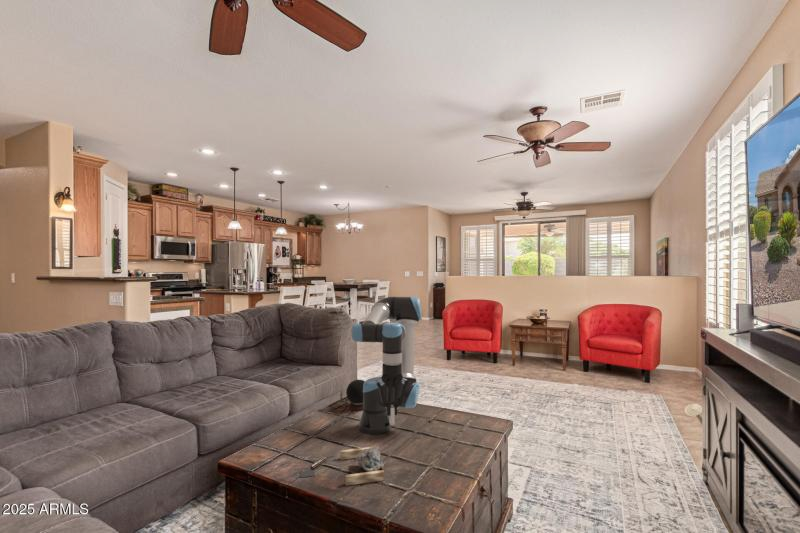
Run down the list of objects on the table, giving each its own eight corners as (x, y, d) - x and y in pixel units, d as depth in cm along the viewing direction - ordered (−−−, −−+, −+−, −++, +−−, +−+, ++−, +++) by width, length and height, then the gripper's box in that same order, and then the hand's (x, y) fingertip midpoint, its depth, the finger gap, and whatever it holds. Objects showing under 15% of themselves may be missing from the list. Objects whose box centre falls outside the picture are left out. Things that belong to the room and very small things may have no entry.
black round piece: (372, 403, 215) (372, 376, 215) (368, 412, 202) (368, 384, 202) (349, 402, 216) (349, 376, 216) (343, 411, 203) (343, 383, 203)
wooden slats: (374, 453, 158) (374, 446, 158) (384, 480, 138) (384, 471, 138) (340, 458, 154) (340, 450, 154) (345, 485, 135) (345, 477, 135)
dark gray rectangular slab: (314, 470, 145) (314, 469, 145) (314, 476, 141) (314, 475, 141) (300, 472, 144) (300, 471, 144) (300, 477, 140) (300, 477, 140)
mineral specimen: (369, 485, 144) (375, 464, 154) (384, 474, 141) (389, 454, 151) (351, 468, 143) (358, 448, 153) (365, 457, 141) (371, 438, 150)
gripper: (405, 359, 154) (405, 418, 154) (373, 361, 151) (373, 421, 151) (410, 364, 147) (410, 425, 147) (377, 366, 144) (377, 429, 144)
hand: (391, 423), depth 149 cm, fingers closed
